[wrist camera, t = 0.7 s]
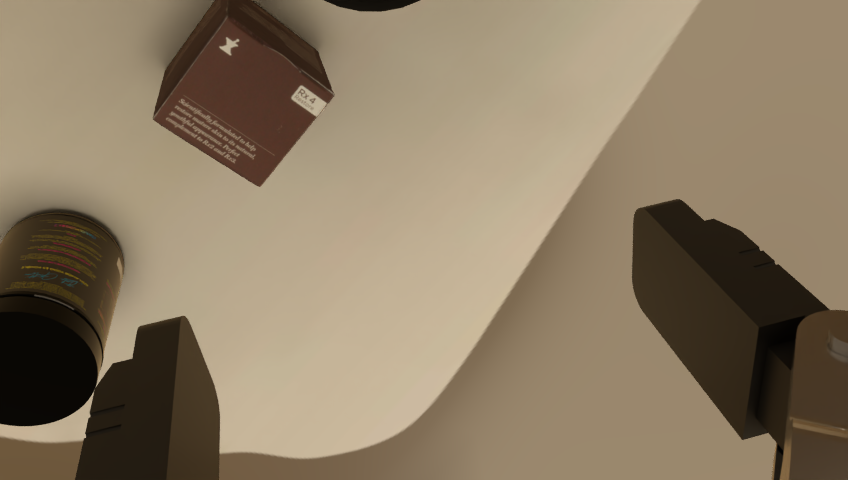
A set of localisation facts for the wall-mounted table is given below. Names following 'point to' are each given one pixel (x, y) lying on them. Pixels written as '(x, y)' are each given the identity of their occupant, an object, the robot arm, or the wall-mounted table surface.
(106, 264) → the supplement container
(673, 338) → the robot arm
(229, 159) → the box
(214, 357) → the wall-mounted table surface
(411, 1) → the travel mug
